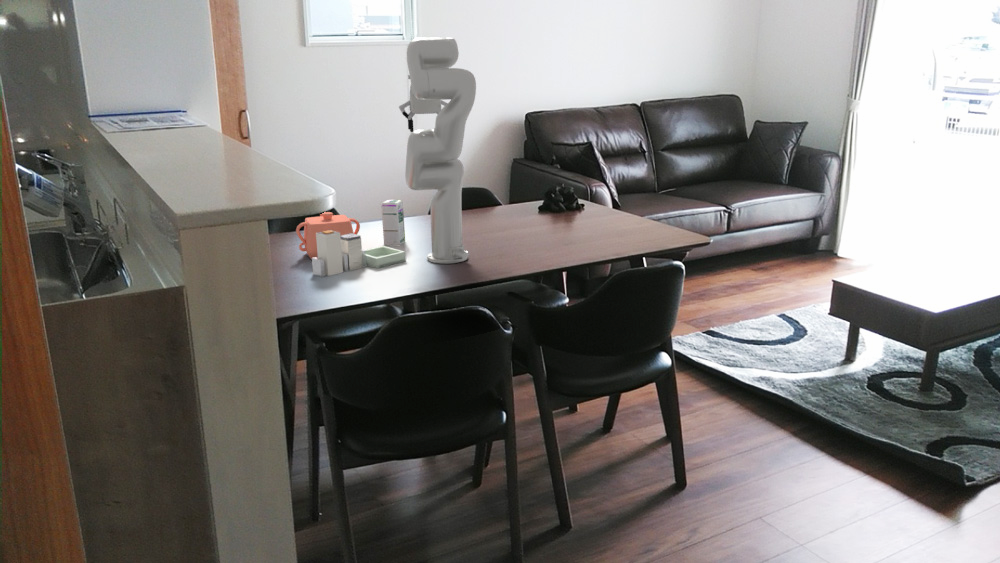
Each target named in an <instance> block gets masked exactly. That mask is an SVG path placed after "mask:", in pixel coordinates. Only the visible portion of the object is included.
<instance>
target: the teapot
mask: <svg viewBox="0 0 1000 563" xmlns="http://www.w3.org/2000/svg"><path fill="white" fill-rule="evenodd" d="M352 222H353V223H355V224H356V228H355V230H353V225H352ZM302 227H304V228H303V235H302V233H301V232H300V229H301V228H302ZM360 229H361V225H360V222H359V221H358V220H357V219H356V218H351V217H347V215H345V214H336V215H335V214H334V213H333V212H330V211H327V212H326V211H325V212H324V213H322V214H320V213H319V216H311V217H310V216H309V217H305V219H304V221H303V222H300V223H299V224H298V225H297V226H296V229H295V232H296V235H297V237H298V239H299V240H300V241H301V243H299V245H298V249H299V251H301V252H306V254H307V256H308V257H309V258H310V259H311V260H312V258H313V257H317V258H318V254H317V241H316V233H319V232H323V231H328V230H332V231H335V232H339V233H340V235H345V234H350V233H353V234H356V235H359V234H358V233H359V232H360ZM303 246H304V247H303Z"/></svg>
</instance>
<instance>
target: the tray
mask: <svg viewBox="0 0 1000 563" xmlns="http://www.w3.org/2000/svg"><path fill="white" fill-rule="evenodd" d="M364 250H365V251H366V266H367V267H368V266H369V267H372V268H375V269H381V268H384V267H388V266H391V265H395V264H400V263H404V262H407V258H406V256H407V255H406V254H407V253H406V251H403V250H402V249H397V248H393V247H389V246H387V245H381V246H380V245H379V246H376V247H371V248H368V249H364Z"/></svg>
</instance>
